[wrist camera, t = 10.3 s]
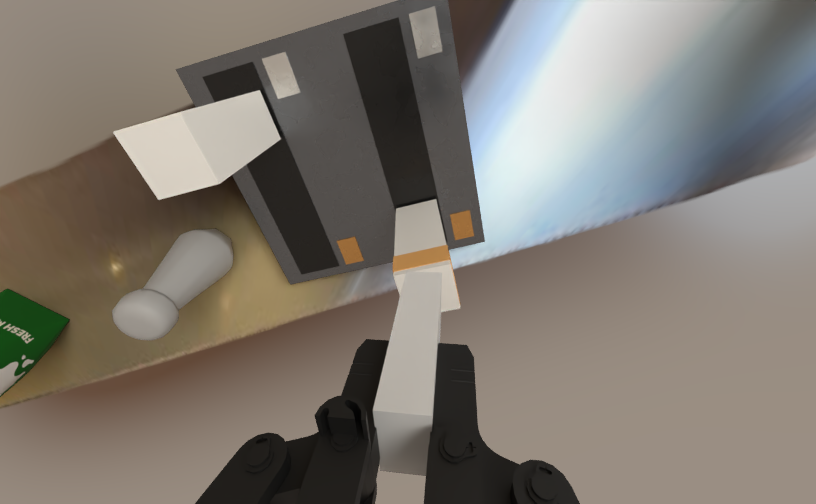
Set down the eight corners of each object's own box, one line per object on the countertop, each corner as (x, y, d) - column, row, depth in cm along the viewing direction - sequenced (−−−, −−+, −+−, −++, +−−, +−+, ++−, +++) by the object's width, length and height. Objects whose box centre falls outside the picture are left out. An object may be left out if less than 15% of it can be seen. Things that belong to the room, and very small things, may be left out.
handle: (436, 198, 32) (451, 262, 23) (444, 234, 35) (461, 308, 25) (395, 208, 33) (392, 275, 23) (405, 243, 35) (407, 319, 25)
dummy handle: (259, 90, 27) (179, 112, 18) (280, 139, 29) (219, 183, 20) (215, 103, 28) (112, 132, 18) (239, 150, 30) (158, 199, 20)
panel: (442, -11, 26) (445, -15, 24) (481, 232, 37) (484, 242, 36) (189, 68, 29) (175, 69, 27) (295, 274, 40) (290, 285, 38)
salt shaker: (207, 271, 39) (131, 359, 28) (175, 230, 37) (75, 309, 25) (251, 257, 39) (190, 342, 27) (221, 214, 36) (139, 288, 25)
